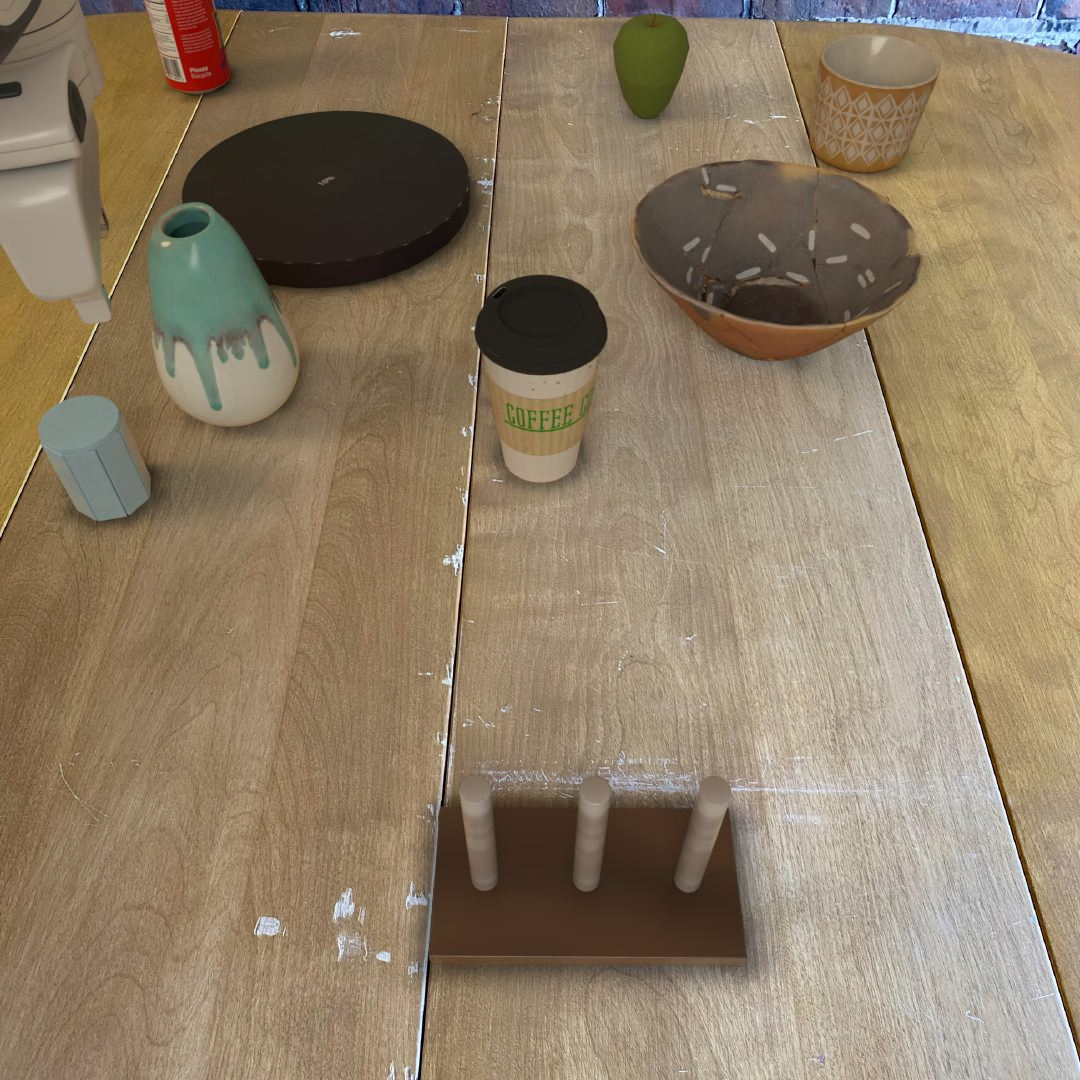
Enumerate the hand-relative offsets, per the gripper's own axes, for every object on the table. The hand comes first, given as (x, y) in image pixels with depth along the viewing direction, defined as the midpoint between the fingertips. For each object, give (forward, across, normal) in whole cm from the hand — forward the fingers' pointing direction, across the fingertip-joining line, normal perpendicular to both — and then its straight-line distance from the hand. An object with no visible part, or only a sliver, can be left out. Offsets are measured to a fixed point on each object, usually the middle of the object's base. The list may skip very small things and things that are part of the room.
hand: (98, 273), depth 65 cm
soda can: (+20, -69, +6) cm, 72 cm away
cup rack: (+20, +41, +21) cm, 51 cm away
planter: (+20, -31, +78) cm, 86 cm away
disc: (+20, -37, +18) cm, 46 cm away
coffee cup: (+20, +5, +29) cm, 36 cm away
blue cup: (+20, 0, -5) cm, 21 cm away
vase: (+20, -9, +6) cm, 23 cm away
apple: (+20, -46, +58) cm, 76 cm away
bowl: (+20, -5, +54) cm, 57 cm away
